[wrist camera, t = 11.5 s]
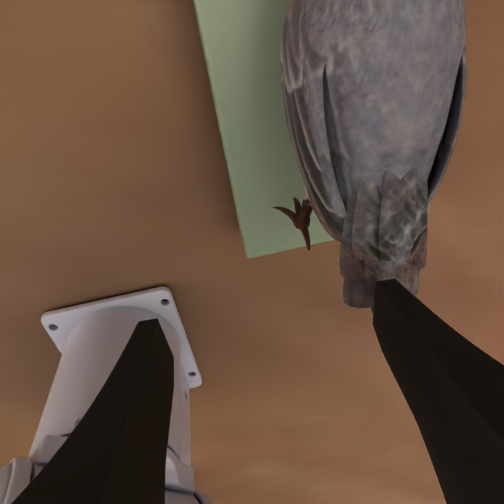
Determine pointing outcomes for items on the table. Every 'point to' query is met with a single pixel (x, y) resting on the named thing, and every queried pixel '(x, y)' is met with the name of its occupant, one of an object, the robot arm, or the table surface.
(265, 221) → the shelf
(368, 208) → the bird
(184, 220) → the table surface
